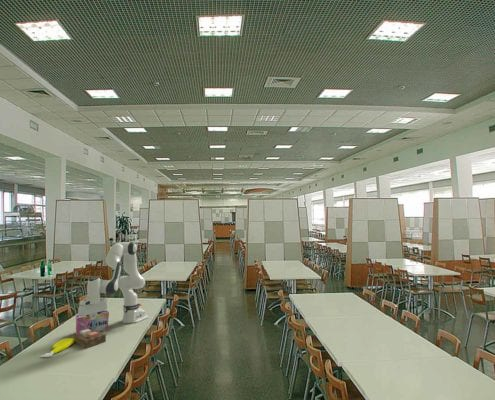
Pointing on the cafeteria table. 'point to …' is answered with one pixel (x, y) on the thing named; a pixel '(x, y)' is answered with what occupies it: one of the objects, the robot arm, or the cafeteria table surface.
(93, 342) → the key panel
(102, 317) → the gum box
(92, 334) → the brick key
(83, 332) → the white key
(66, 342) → the spray bottle
